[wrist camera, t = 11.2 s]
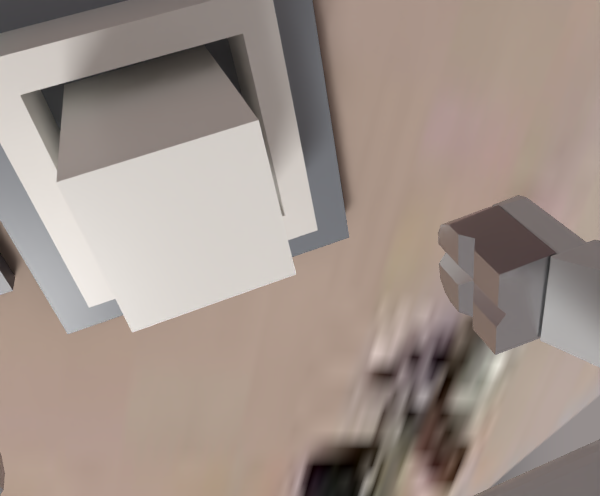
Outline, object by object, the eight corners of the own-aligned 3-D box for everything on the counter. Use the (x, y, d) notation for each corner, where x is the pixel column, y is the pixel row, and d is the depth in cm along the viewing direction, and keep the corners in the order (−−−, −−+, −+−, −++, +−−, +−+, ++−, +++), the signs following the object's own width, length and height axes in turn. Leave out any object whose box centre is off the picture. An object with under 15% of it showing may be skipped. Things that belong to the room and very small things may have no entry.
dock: (-151, -66, 15) (-218, -50, 12) (275, -161, 17) (323, -170, 14) (68, 315, 23) (66, 389, 20) (338, 223, 25) (378, 277, 22)
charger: (64, 84, 17) (56, 182, 12) (204, 45, 18) (258, 120, 13) (119, 208, 20) (133, 334, 15) (239, 169, 21) (297, 276, 15)
